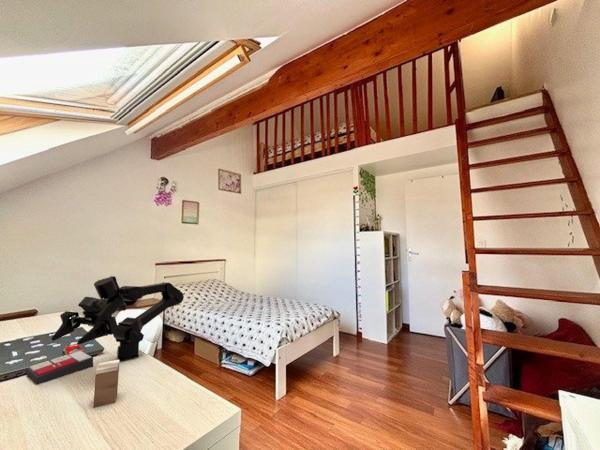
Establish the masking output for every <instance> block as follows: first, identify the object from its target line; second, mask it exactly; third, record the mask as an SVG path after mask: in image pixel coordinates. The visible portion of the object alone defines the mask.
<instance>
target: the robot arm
mask: <svg viewBox="0 0 600 450" xmlns="http://www.w3.org/2000/svg"><path fill="white" fill-rule="evenodd" d="M93 286H94V288H95V290H96V293H97V295H98V297H99V298H96V297H91V296H84V298H83V299H82V300H81V301H80V302H79V303H78V305H77V306H78V307H80V308H81V309H82V310H83V311H82V315H83V316H80V313H79V312H77V311H67V310H65V312H62V313H61V314H60V316H59V317H60V319H61V322H62V323H61V324H60V326H59V327H58V329H57V330H56V332H55V333H54V334H53V335H52V337H51V338H50V339H51V341H56V340H58V339H61V338H63V337H65V336H67V335H69V334H71V333H73V332H75V329H78V328H80V326H81V325H87V326H88V327H91V329H89V330H88V331H87V332H86V333H85V334H84V335H83V336H81V337H80V339H79V340H78V341H77V344H78V345H83V344H84V343H88V342H90V341H93V340H96V339H98V338H103V337H107V336H108V335H111V336H113V338H114V339H115V341H116V342H117V343H119V345H118V346H117V349H116V350H117V351H116V358H117V360H119V363H120V362H123V361H124V362H125V361H128V360H133V359H137V358H139V357H140V355H139V351H140V350H139V348H140V347H139V346H140V342H142V341H143V340H144V336H145V334H143V333H142V329H143V327H145V325H147V324H148V323H149V322H151V321H152V320H154V319H155V318H156V317H157V316H159V315H161V314H162V313H163V312H165V311H166V310H167V309H169V308H172V307H176V306H178V305H180V304H181V303H182V302H183V300H184V299H185V298H184V297H185V296H184V293H183V292H182V291H180V289H178V288H177V287H175V286H174V285H173V284H172V283H171V282H160V283H154V284H148V285H142V286H138V285H137V286H136V285H123V286H121V287H120V286H119V284H118V281H117V278H116V276H114V275H110V276H109V277H105V278H102V279H98V280H97V281H95V282H94V283H93ZM159 293H160V295H161V296H162V297H161V300H160V301H158V302H157V303H155V304H154V305H152V306H150V307H149V308H148V309H146V310H145V311H143V312H142V313H141V314H139V315H137V316H136V317H129V316H127V317H126V318H124V319H123V320H122V321H120V322H117V320H116V316H113V315H114V314H115V313H116V312H119V311H123V312H124V311H126V310H127V303H125V301H127V302H136V301H138V300H140V299H142V298H143V297H145V296H148V295H153V294H159Z"/></svg>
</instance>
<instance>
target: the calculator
mask: <svg viewBox="0 0 600 450" xmlns="http://www.w3.org/2000/svg"><path fill="white" fill-rule="evenodd" d="M93 367H94V357H93V356H91V355H90V354H88V353H85V351H84V352H82V351H79V352H75V353H72V354H69V355H64V356H63V355H60V356H58V357H55V358H52V359H50V360H47V361H43V362H40V363H37V364H34V365H31V366H29V367H28V368H27V371H26V376H27V378H28V379H29V380H30V381H32V382H33V384H35V385H37V386H38V385H42V384H45V383H49V382H51V381H54V380H57V379H59V378H63V377H65V376H69V375H71V374H74V373H76V372H80V371H84V370H87V369H90V368H93Z"/></svg>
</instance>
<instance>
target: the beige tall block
mask: <svg viewBox="0 0 600 450" xmlns="http://www.w3.org/2000/svg"><path fill="white" fill-rule="evenodd" d="M119 371H120V361H119V359H116V360H115V359H114V360H110V361H105V362H99V363H98V365H97V368H96V369H95V376H94V377H95V380H94V392H93V394H94V395H93V405H92V408H93V409H96V408H99V407H103V405H104V406H107V405H111V404H115V403H116V401H117V397H118V389H119V388H118V387H119V373H120V372H119Z"/></svg>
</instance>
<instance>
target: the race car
mask: <svg viewBox="0 0 600 450" xmlns="http://www.w3.org/2000/svg"><path fill="white" fill-rule="evenodd" d="M79 351H82V352H84V353H85V351H84V349H83V347H82V346H81V345H80V344H78V343H74V344H70V345H66V346H64V347H63V349H62V355H63V354H64V355H69V354H72V353H75V352H79Z"/></svg>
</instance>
